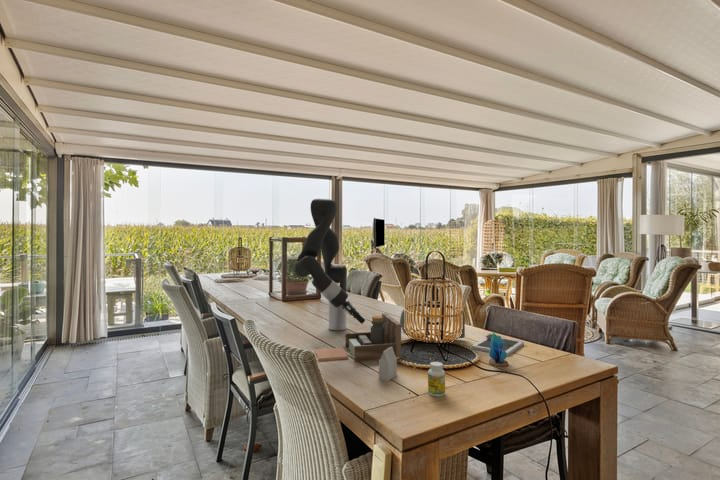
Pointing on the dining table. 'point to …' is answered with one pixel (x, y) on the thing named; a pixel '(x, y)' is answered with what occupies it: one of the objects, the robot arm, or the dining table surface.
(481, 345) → the picture frame
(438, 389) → the supplement bottle
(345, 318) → the robot arm
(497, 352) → the gemstone
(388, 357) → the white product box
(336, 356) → the terracotta pad
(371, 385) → the dining table surface
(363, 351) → the walnut rack
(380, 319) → the bottle
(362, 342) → the charcoal offcut
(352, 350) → the sage offcut
